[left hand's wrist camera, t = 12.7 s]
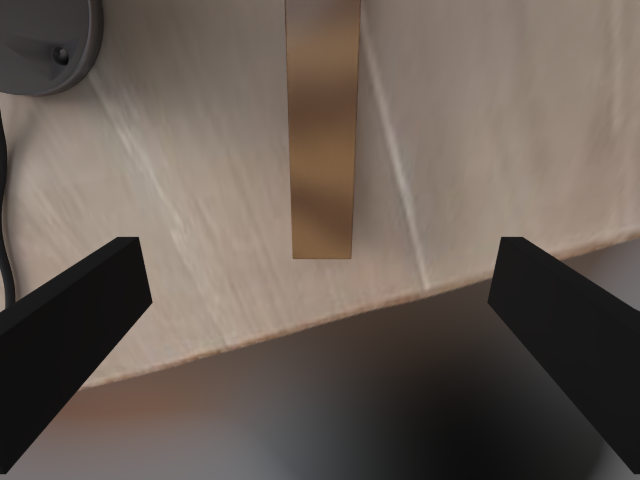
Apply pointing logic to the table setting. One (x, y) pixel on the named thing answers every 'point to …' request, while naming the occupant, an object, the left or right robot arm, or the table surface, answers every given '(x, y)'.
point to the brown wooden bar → (322, 123)
